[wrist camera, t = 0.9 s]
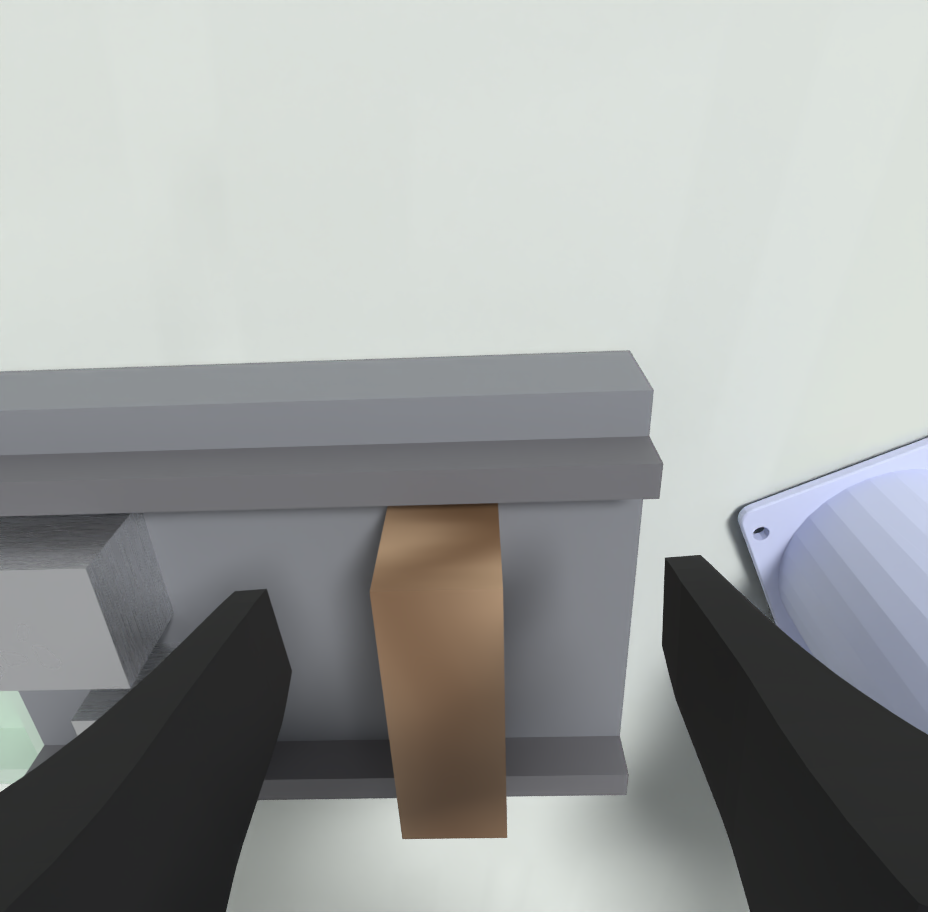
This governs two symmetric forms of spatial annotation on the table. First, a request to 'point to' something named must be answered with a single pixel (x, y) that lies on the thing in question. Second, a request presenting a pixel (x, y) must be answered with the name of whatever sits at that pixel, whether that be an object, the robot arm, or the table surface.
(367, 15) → the table surface
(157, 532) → the channel board
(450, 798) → the bar
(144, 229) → the table surface
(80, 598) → the grey small block
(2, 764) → the chip tray
